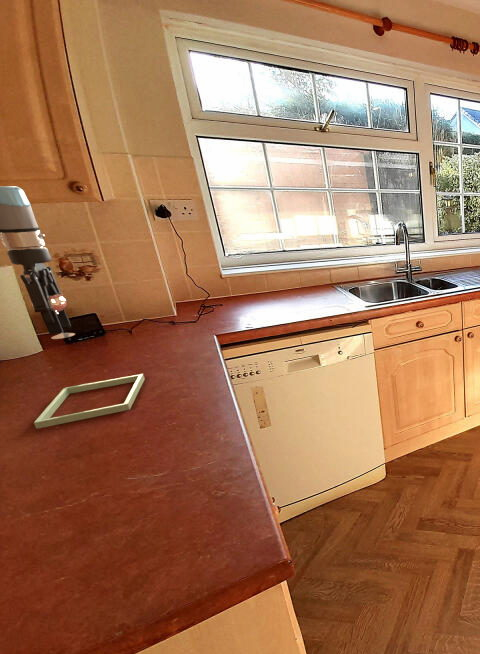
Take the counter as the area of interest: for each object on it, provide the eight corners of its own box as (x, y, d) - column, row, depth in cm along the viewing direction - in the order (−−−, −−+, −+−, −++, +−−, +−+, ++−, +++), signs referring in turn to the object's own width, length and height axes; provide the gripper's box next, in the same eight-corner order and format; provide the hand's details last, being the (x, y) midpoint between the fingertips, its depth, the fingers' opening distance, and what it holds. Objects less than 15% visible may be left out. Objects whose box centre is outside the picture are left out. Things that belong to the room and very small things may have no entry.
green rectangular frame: (39, 434, 91) (33, 422, 90) (68, 397, 107) (63, 387, 106) (131, 414, 99) (127, 403, 97) (146, 383, 114) (143, 373, 113)
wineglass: (59, 340, 118) (42, 299, 114) (39, 339, 119) (21, 297, 115) (85, 332, 125) (70, 293, 120) (66, 331, 126) (50, 292, 121)
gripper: (32, 251, 107) (67, 337, 116) (57, 243, 122) (87, 319, 131) (-11, 253, 103) (29, 342, 112) (21, 244, 118) (54, 323, 127)
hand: (60, 329), depth 121 cm, fingers closed on wineglass, 6 cm apart
